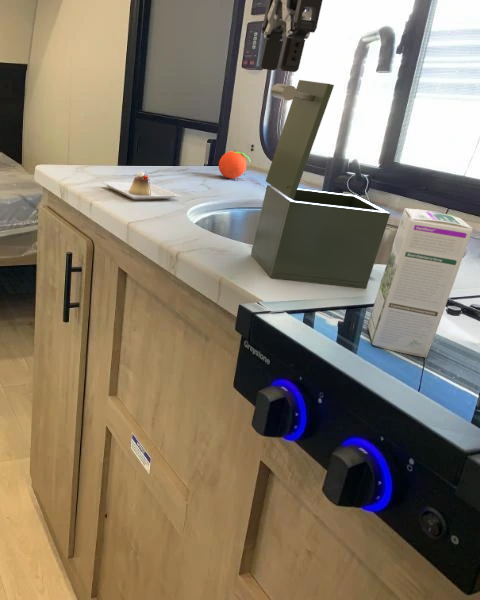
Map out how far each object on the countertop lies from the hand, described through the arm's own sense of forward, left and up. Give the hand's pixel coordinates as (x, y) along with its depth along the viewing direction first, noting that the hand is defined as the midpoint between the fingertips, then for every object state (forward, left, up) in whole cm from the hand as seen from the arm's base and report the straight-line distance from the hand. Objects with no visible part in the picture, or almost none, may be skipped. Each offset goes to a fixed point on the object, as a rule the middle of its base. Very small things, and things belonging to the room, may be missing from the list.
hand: (277, 70), depth 77 cm
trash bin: (-11, 0, -26) cm, 29 cm away
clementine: (-17, -72, -27) cm, 78 cm away
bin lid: (-5, 0, -8) cm, 9 cm away
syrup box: (-13, +23, -27) cm, 37 cm away
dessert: (+10, -40, -27) cm, 49 cm away
